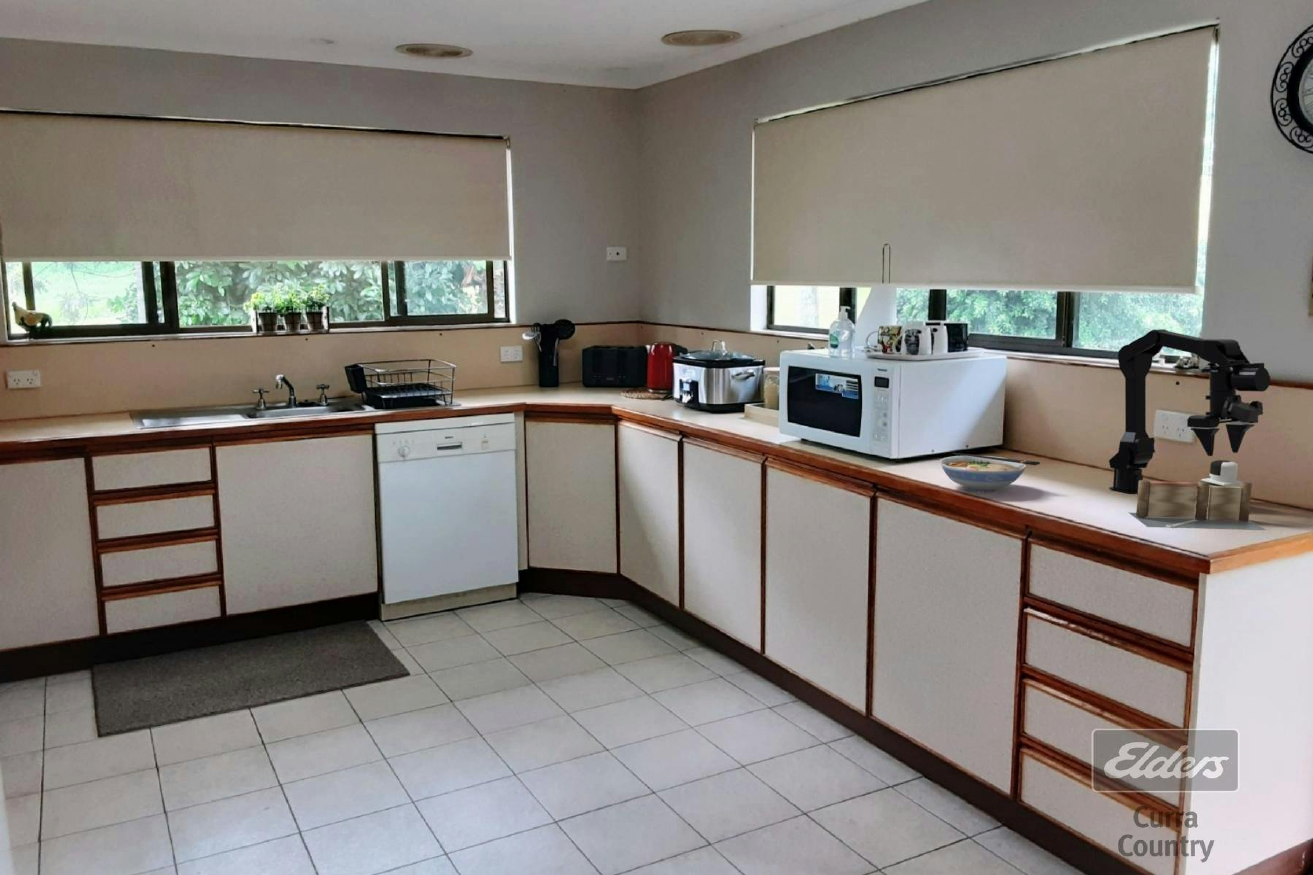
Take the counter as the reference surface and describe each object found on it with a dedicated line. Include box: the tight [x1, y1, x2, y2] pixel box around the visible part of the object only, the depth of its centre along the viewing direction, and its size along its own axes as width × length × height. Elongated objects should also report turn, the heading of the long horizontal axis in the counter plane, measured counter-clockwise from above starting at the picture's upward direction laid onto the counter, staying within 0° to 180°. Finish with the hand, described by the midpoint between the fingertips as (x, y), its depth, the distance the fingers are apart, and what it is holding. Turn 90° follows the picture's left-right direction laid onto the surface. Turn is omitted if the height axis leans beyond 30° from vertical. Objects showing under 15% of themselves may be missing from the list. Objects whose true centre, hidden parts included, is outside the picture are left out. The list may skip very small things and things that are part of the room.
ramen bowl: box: [939, 452, 1041, 493], centre depth 282 cm, size 25×23×8 cm
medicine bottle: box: [1200, 459, 1243, 508], centre depth 258 cm, size 7×7×12 cm
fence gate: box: [1135, 479, 1198, 518], centre depth 247 cm, size 13×2×9 cm, turn 83°
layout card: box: [1128, 512, 1267, 531], centre depth 245 cm, size 26×14×1 cm, turn 83°
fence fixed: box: [1195, 480, 1253, 521], centre depth 245 cm, size 12×2×9 cm, turn 83°
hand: (1222, 454), depth 253 cm, fingers open, 9 cm apart
